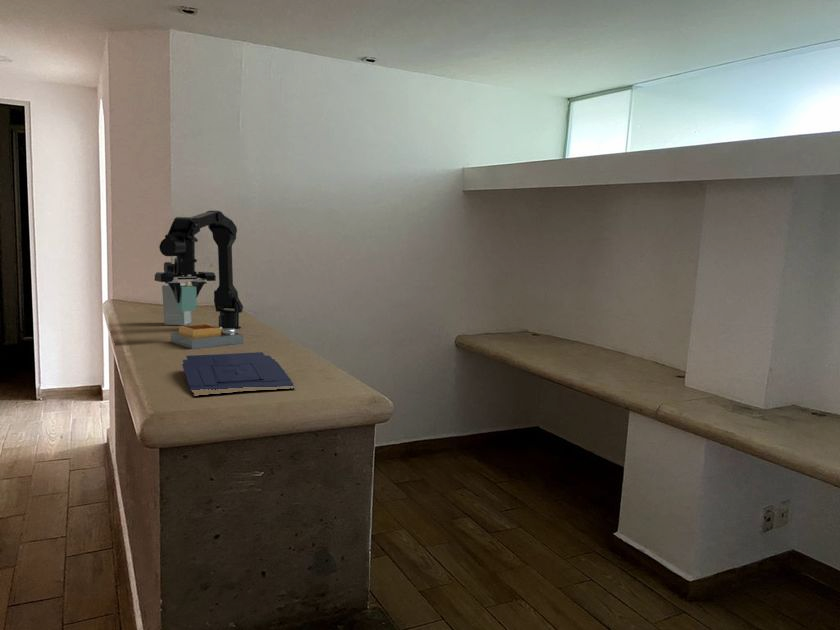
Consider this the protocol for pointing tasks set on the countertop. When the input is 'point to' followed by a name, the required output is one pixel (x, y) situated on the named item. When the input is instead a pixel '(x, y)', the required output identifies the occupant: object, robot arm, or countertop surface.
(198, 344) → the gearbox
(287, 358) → the countertop surface
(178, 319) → the skincare box
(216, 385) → the dark blue book
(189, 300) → the spout can
